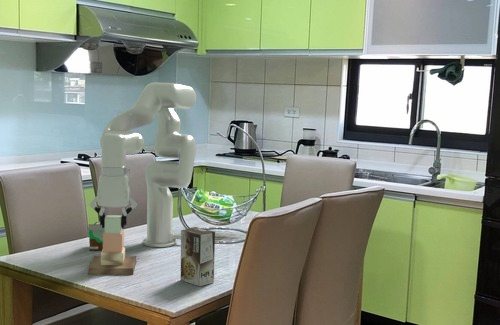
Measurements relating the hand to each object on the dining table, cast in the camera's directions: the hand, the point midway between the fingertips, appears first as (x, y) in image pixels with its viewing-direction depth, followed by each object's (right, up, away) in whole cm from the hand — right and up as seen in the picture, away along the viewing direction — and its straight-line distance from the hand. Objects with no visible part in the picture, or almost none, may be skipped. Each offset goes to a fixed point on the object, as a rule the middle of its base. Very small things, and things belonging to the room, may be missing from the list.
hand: (113, 226), depth 196 cm
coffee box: (+28, -16, -9) cm, 33 cm away
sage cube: (0, -2, 0) cm, 2 cm away
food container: (-9, -11, +25) cm, 28 cm away
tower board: (-1, -14, +2) cm, 14 cm away
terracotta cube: (0, -8, +1) cm, 8 cm away
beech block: (0, -12, +1) cm, 12 cm away
